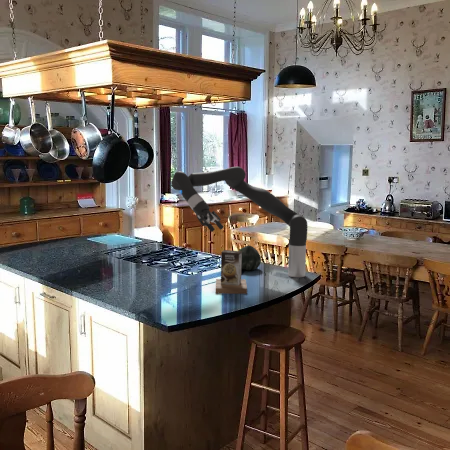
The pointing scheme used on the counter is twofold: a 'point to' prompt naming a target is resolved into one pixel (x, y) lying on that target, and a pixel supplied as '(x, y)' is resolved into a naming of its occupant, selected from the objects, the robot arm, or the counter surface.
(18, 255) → the counter surface
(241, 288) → the wooden board
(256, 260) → the squash
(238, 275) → the coffee box
